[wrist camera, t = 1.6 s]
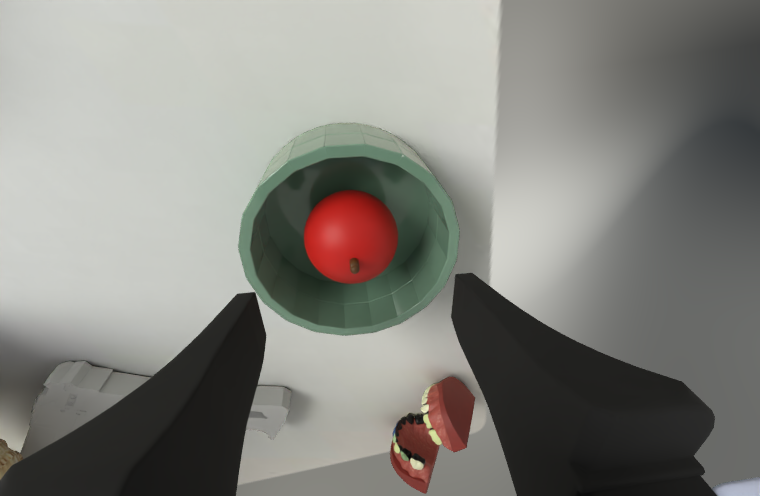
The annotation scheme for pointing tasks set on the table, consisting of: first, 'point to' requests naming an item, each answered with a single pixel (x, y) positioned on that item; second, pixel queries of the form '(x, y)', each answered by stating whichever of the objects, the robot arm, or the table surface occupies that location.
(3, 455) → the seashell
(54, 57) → the table surface
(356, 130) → the bowl
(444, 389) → the dentures model
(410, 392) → the table surface
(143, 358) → the table surface
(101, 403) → the toy gun
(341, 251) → the apple
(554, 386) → the robot arm
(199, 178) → the table surface
